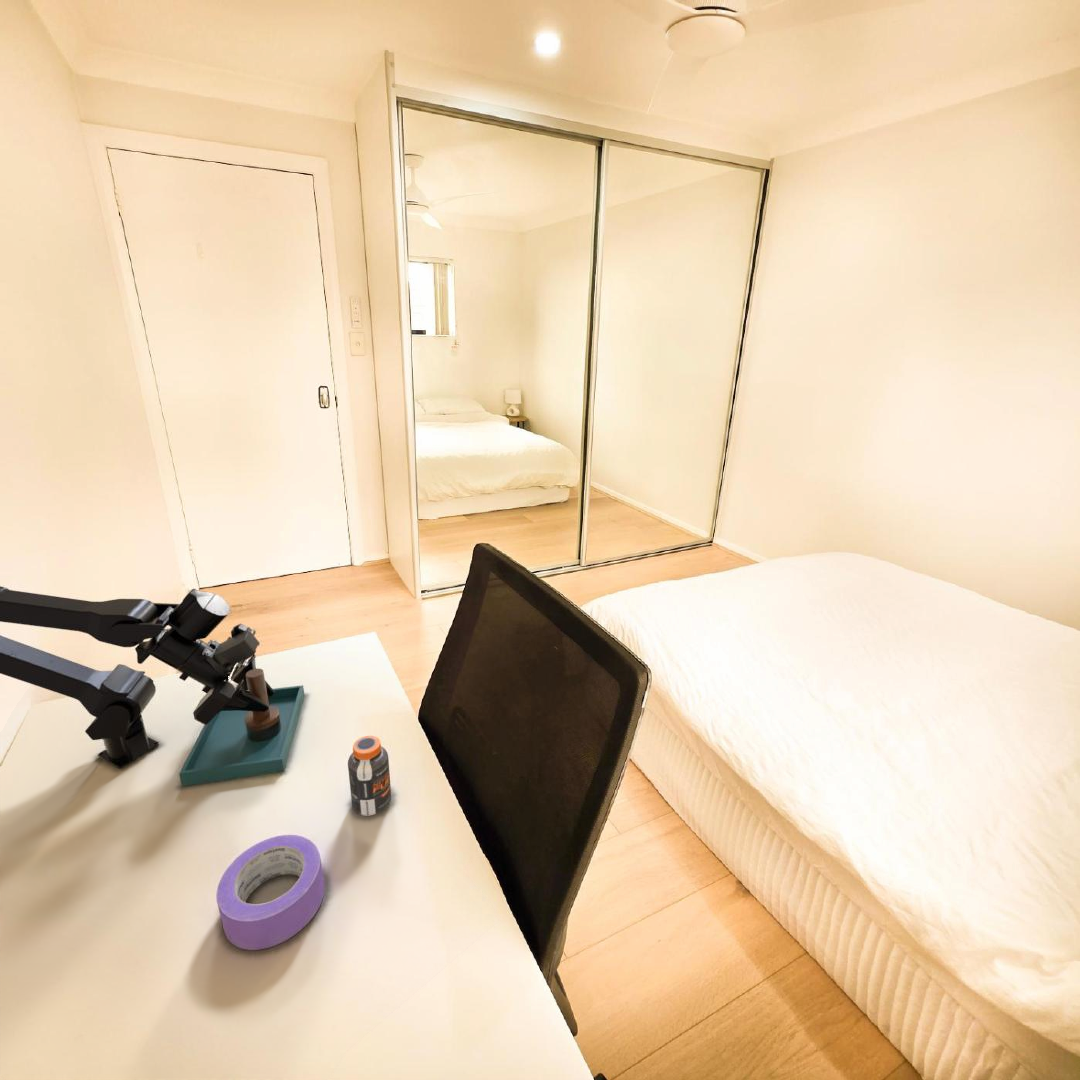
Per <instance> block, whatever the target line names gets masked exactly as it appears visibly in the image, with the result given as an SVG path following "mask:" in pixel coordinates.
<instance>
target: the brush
mask: <svg viewBox="0 0 1080 1080" xmlns="http://www.w3.org/2000/svg"><path fill="white" fill-rule="evenodd" d="M246 680H247V686H248V691H249V692H251V693H252V694H253V695H255V696H256V697H258V698H259V699H261V700H262V701H263V702H265V703H266V704H267V705H268V706H269V701H268V695H267V689H266V683H265V681H266V678H265V671H264V669H262V668H256V669H252V670H250V671H248V672H247V673H246ZM245 726H246V731H247V736H248V738H249V739H250V740H252V741H256V742H259V741H265V740H268V739H271V738H273V737H274V736H276V735H277V734H278V733H279V732H280V730H281V721H280V714H279V710H278V708H276V707H274V706H269V709H268V710H267V711H266V712H259V711H251V712H249V713H248V714H247V715H246V717H245Z"/></svg>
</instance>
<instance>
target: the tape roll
mask: <svg viewBox="0 0 1080 1080" xmlns="http://www.w3.org/2000/svg"><path fill="white" fill-rule="evenodd" d="M323 872H324V871H323V866H322V859H321V854H320V851H319V848H318V847H317V845H316V844H315V843H314V842H313V841H311V839H309V838H307V837H305V836H302V835H298V834H282V835H281V834H280V835H276V836H272V837H269V838H266V839H264V840H261V841H259V842H257V843H256V844H254V845H252V846H250V847H249V848H247V849H246V850H244V851H243V852H242V853H240V854H239V855H238V856H237V857H236V858H235V859H234V860H233V861H232V862H231V863H230V864H229V866H228V867H227V868H226V869H225V871H224V872H223V873H222V876H221V878H220V879H219V882H218V885H217V890H216V903H217V908H218V911H219V915H220V919H221V924H222V927H223V931H224V934H225V936H226V938H227V940H228V941H229V942H230V943H231V944H232V945H233V946H235V947H237V948H239V949H242V950H245V951H246V950H248V951H257V950H265V949H268V948H272V947H274V946H277V945H279V944H282V943H284V942H286V941H288V940H289V939H291V938H292V937H294V936H295V935H296V934H298V933H299V932H300V931H302V930H303V929H304V927H306V926H307V925H308V924H309V923H310V921H311V920H312V919H313V917H314V916H315V915H316V914H317V912H318V910H319V909H320V906H321V904H322V903H323V899H324V896H325V888H326V887H325V885H326V884H325V878H324V873H323ZM284 875H293V876H297V877H298V879H297V881H295V883H294V884H293V886H291V888H290V889H289V890H287V891H286V892H284V893H283V894H282V895H280V896H278V897H277V898H274V899H273V900H269V901H267V902H263V903H248V902H247V900H248V899H249V897H250V896H251V894H252V893H253V892H254V891H255V890H256V889H257V888H258V887H259V886H261V885H262V884H263V883H265V882H267V881H269V880H271V879H273V878H275V877H279V876H284Z"/></svg>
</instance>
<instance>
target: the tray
mask: <svg viewBox="0 0 1080 1080" xmlns="http://www.w3.org/2000/svg"><path fill="white" fill-rule="evenodd" d="M272 689H273V690H274V691H275V693H274V694H273V695H272V696H271V697H269V696H268V701H269V706H274V707H276V708H278V710H279V714H280V721H281V730H280V732H279V733H278V734H277V735H276V736H274V737H273V738H271V739H268V740H265V741H259V742H256V741H252V740H250V739H249V738H248V736H247V731H246V726H245V717H246V715H247V714H248V713H249V712H251V711H220V712H219V713H218V714H217V715H216V716H215V717H214V718H213V719H212V720H211V721H210V722H209V723H208V724H207V725H204V724H203V727H202V728H201V731H200V732H199V735H198V736H197V738H196V739H195V742H194V744H193V746H192V748H191V750H190V751H189V753H188V755H187V758H186V760H184V761H185V762H184V763H183V766H182V768H180V771H179V773H178V775H179V778H180V782H181V787H187V786H193V785H194V786H195V785H202V784H207V783H214V782H220V781H221V782H223V781H229V780H235V779H241V778H250V777H256V776H262V775H263V776H264V775H269V774H275V773H276V774H277V773H282V772H285V771H286V767H287V763H288V759H289V755H290V752H291V749H292V744H293V741H294V737H295V734H296V730H297V727H298V722H299V718H300V714H301V711H302V707H303V704H304V700H305V697H306V696H305V695H306V694H305V690H304V689H305V688H304V685H303V684H301V685H294V686H293V685H292V686H284V687H276V688H272Z"/></svg>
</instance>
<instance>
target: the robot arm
mask: <svg viewBox="0 0 1080 1080" xmlns="http://www.w3.org/2000/svg"><path fill="white" fill-rule="evenodd" d="M230 614H231V606H230V605H229V603H228V602H227V601H226V600H225V599H224V598H223V597H222V596H220V595H219V594H217V593H215V594H214V593H213V592H209V591H199V590H197V589H196V588H191V590H190V591H189V592H188V593H187V594H186V595H185V597H184V598H183V599H182V601H181V602H180V603H167V602H165V603H163V602H153V601H151V600H148V599H145V598H116V599H109V600H104V601H91V600H85V599H78V598H77V599H76V598H70V597H63V596H55V595H49V594H42V593H36V592H35V593H34V592H28V591H21V590H20V591H19V590H12V589H9V588H8V587H5V586H1V585H0V623H8V624H15V625H23V626H24V625H25V626H31V627H32V626H33V627H39V628H40V627H41V628H49V629H58V630H65V631H72V632H79V633H83V634H87V635H88V636H91V637H92V638H93V639H95V640H96V641H98V642H101V643H104V644H108V645H112V646H116V647H121V648H133V647H134V650H135V652H136V661H137V664H139V665H142V664H143V663H144V662H145V661H146V660H147V659H148V658H149V657H150V656H151V657H153V658H155V659H157V660H158V661H160V662H162V663H164V664H166V665H167V666H169V667H171V668H172V669H174V670H176V671H177V672H179V673H181V674H180V675H179V677H178V679H179V680H182V681H184V682H185V681H186V680H187V679H188V678H190V679H192V680H194V681H196V682H198V683H200V684H201V685H203V687H202V689H201V691H202V692H203V693H205V695H203V696H202V698H201V699H200V700H199V701H198V703H197V706H196V707H195V708H194V711H193V712H192V715H193V719H194V720H195V721H196V722H198V723H200V724H203V726H204V725H207V724H208V723H209V722H210V721H211V720H212V719H213V718H214V717H215V716H216V715H217V714H218V713H219V712H220V711H259V712H266V711H267V710H268V709H269V706H268V705H267V704H266V703H265V702H263V701H262V700H261V699H259V698H258V697H256V696H255V695H253V694H252V693H251V692H249V691H248V686H247V680H246V673H247V672H248V671H250V670H252V669H257V666H256V665H257V664H256V658H257V656H256V652H257V648H258V647H259V646H260V643H261V642H260V641H259V640H258V639H257V638H256V636H255V635H256V630H255V629H252V628H251V627H250V626H247V625H245V624H243V623H238V624H236V625H234V626H233V627H232V629H231V631H230V635H231V636H228V637H227V639H226V640H224V641H222V642H219V641H217V640H216V639H210V640H209V641H208V642H205V641H204V639H207V638H208V637H209V636H210V635H211V634H212V632H213V631H214V630H215V629H217V627H218V626H219V625H220V624H221V623H223V621H224V620H225V619H226V618H227V617H228V615H230ZM168 626H169V628H167V627H168ZM0 674H1V675H4V676H7V677H9V678H12V679H16V680H18V681H21V682H24V683H27V684H30V685H33V686H36V687H39V688H42V689H45V690H47V691H51V692H54V693H56V694H59V695H62V696H65V697H68V698H72V699H73V700H76V701H79V703H80V704H81V705H82V706H83V708H84V709H85V710H86V711H87V712H88V713H89V715H91V716H92V717H95V718H94V719H93V721H92V722H91V723H90V724H89V725H88V727H87V728H86V729H85V731H84V732H85V734H86V735H87V736H88V737H89V738H90V739H91V741H97V740H98V741H100V740H102V741H103V745H104V750H102V751H100V752H99V753H98V754H97V757H98V758H99V759H101V760H102V761H104V762H106V763H108V764H110V765H112V767H115V768H116V769H123V768H124V767H126V766H128V765H130V764H131V763H133V762H134V761H136V760H138V759H140V758H142V757H143V756H144V755H146V754H148V753H150V752H151V751H153V750H154V749H156V748H157V747H159V746H160V743H159V741H156V740H154V739H153V738H151V737H148V734H147V730H146V726H145V722H144V719H143V715H142V714H143V712H144V710H145V709H146V708H147V707H148V705H149V704H150V702H151V701H152V699H153V697H155V694H156V692H157V689H156V685H155V683H154V680H153V679H152V677H149V676H148V675H145V674H146V671H145V670H144V671H143V670H136V669H133V668H131V667H129V666H128V665H126V664H122V663H121V664H120V663H119V664H117V665H116V666H115V668H114V669H113V670H97V669H94V668H92V667H90V666H86V665H84V664H80V663H78V662H75V661H72V660H69V659H66V658H64V657H61V656H58V655H57V654H56V655H55V654H53V653H50V652H47V651H44V650H42V649H39V648H36V647H33V646H31V645H28V644H25V643H22V642H20V641H17V640H14V639H11V638H9V637H6V636H3V635H1V634H0ZM265 683H266V689H267V695H268V696H269V697H271V696H272V695H273V694H274V693H275V691H274V690H273V689H274V688H272V687H271V685H270V684H269V683H268V681H266V680H265Z"/></svg>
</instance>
